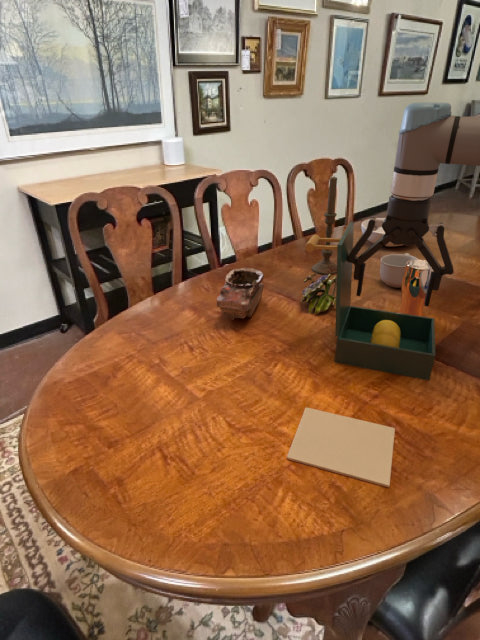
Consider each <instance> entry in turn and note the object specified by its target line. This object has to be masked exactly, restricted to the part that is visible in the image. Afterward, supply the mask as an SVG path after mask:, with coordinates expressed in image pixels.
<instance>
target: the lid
mask: <svg viewBox="0 0 480 640" xmlns="http://www.w3.org/2000/svg"><path fill="white" fill-rule="evenodd" d="M354 229H355V222H354V221H350V222H349V223H348V225H347V227H346V228H345V231H344V232H343V234H342V236H341V237H339V238H338V237H331V238H326V237H321V236H320V235H319V234H313V235H311V237H310V238H309V240H308V241H307V242H306V244H305V246H304V250H305V251H306V252H307V253H312V252H314V251H315V250H332V251H336V265H337V273H336V278H337V283H336V288H335V297H336V304H335V329H334V332H335V334H334V337H336V338H337V337H339V335H340V332H341V330H342V327H343V324H344V321H345V318H346V315H347V313H348V310H349V307H350V306H351V303H352V302H351V301H352V279H353V263H351V262H347V257H348V255H349V253H350V252H351V250H352V249H353V248H354V233H355V232H354ZM326 242H330V243H337V245H330V246H328V245H326V244H325V245H323V244H320V243H326Z"/></svg>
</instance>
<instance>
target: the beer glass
mask: <svg viewBox="0 0 480 640" xmlns="http://www.w3.org/2000/svg"><path fill="white" fill-rule="evenodd" d="M431 271H433V269H432V268H431V267H430V265H429V264H428V262H427V261H426V259H419V260H417V259H416V260H409V261H407V262H406V267H405V270H404V274H403V278H402V288H401V303H400V308H399V309H398V312H397V313H402V314H409V315H416V316H422V317H423V311H424V307H425V297H426V292H427V288H428V283H429V279H430V275H431ZM433 272H434V271H433Z"/></svg>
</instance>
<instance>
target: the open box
mask: <svg viewBox="0 0 480 640" xmlns="http://www.w3.org/2000/svg"><path fill="white" fill-rule="evenodd" d="M383 320H390V321H393V322H395V323H396V324H397V325H398V326H399V328H400V332H401V335H400V344H399V348H396V347H391V346H385V345H379V344H373V343H370V342H371V337H372V333H373V329H374V327H375V325H376V324H377V323H378V322H380V321H383ZM435 325H436V323H435V318H434V317H428V316H423V315H422V316H416V315H409V314H402V313H398V312H395V311H388V310H381V309H374V308H369V307H368V308H367V307H362V306H355V305H350V307H349V310H348V313H347V315H346V318H345V321H344V324H343V327H342V330H341V332H340V335H339V337H337V336H336V343H335V351H334V363H337V364H342V365H348V366H352V367H357V368H362V369H369V370H373V371H379V372H384V373H388V374H392V375H393V374H394V375H399V376H403V377H409V378H413V379H420V380H425V381H430V379H431V375H432V372H433V369H434V368H433V367H434V363H435V359H436V329H435V328H436V326H435Z"/></svg>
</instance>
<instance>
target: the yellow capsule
mask: <svg viewBox="0 0 480 640" xmlns="http://www.w3.org/2000/svg"><path fill="white" fill-rule="evenodd" d="M400 335H401V332H400V328H399V326H398V325H397V324H396V323H395V322H393V321H390V320H383V321H380V322H378V323H377V324H376V325H375V327H374V329H373V333H372V337H371V342H370V343H373V344H379V345H385V346H391V347H396V348H399V344H400Z"/></svg>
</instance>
